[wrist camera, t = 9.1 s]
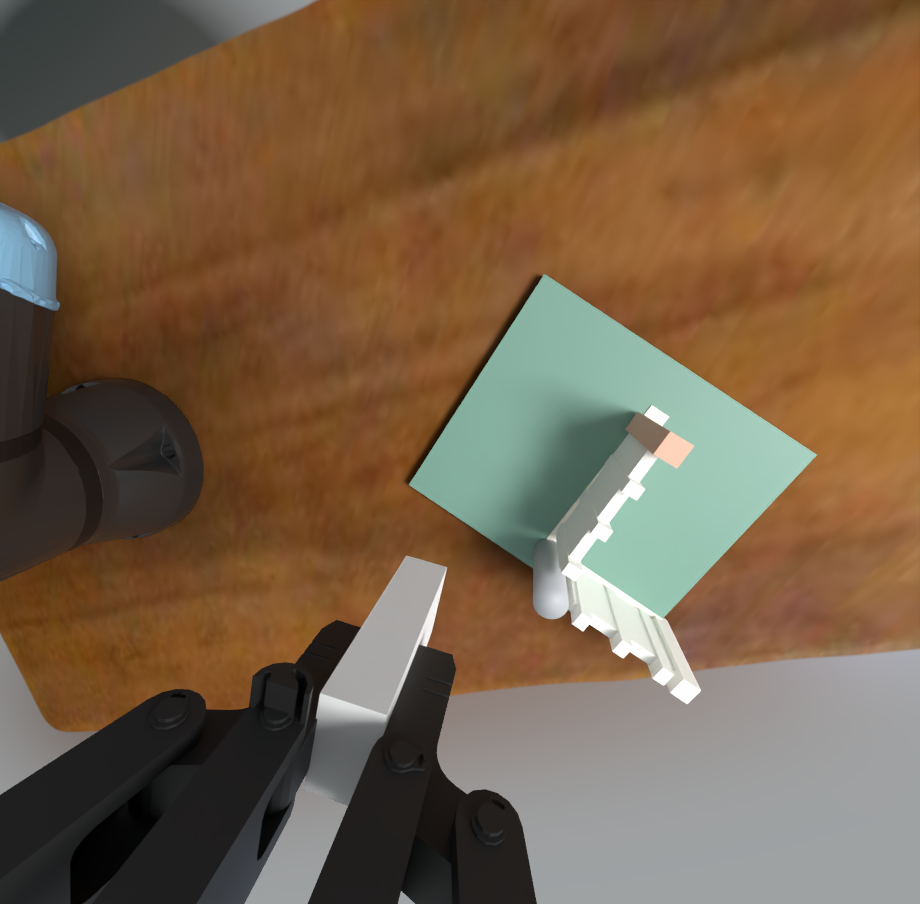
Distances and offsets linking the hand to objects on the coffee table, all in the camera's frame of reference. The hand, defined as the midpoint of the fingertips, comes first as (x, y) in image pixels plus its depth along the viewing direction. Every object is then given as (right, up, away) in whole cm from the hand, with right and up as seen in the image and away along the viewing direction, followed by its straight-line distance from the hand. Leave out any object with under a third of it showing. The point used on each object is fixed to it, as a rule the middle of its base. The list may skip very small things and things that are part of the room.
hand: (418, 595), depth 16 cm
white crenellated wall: (+13, +3, +19) cm, 23 cm away
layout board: (+12, +4, +20) cm, 24 cm away
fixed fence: (+13, -6, +22) cm, 27 cm away
